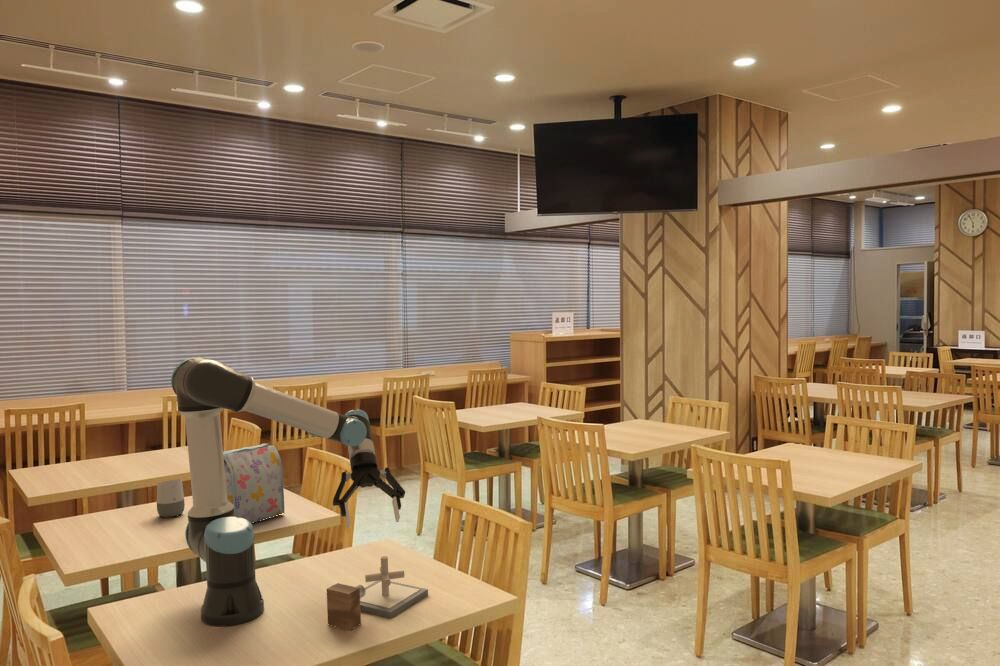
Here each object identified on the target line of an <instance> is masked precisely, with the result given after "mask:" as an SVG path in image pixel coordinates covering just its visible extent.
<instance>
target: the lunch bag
mask: <svg viewBox="0 0 1000 666" xmlns="http://www.w3.org/2000/svg"><path fill="white" fill-rule="evenodd" d="M269 444H270V443H261V444H258V445H253V446H244V447H241V448H237V449H231V450H225V451H224V450H223V457H224V468H225V479H226V491H227V500H228V501H229V502H230V503H232V504H233V505H234V513H235V517H237V518H244V519H247V520H248V521H249V522H250V523H252V524H254V523H253V522H256V523H258V522H257V521H259V522H261V521H260V520H263V519H266V518H269V517H273V516H276V515H279V514H282V513H284V514H285V492H284V490H285V489H284V471H283V463H282V459H281V456H280V453H279V452H278V450H277V448H276V446H274V445H269ZM273 518H274V517H273ZM263 521H264V520H263Z"/></svg>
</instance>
